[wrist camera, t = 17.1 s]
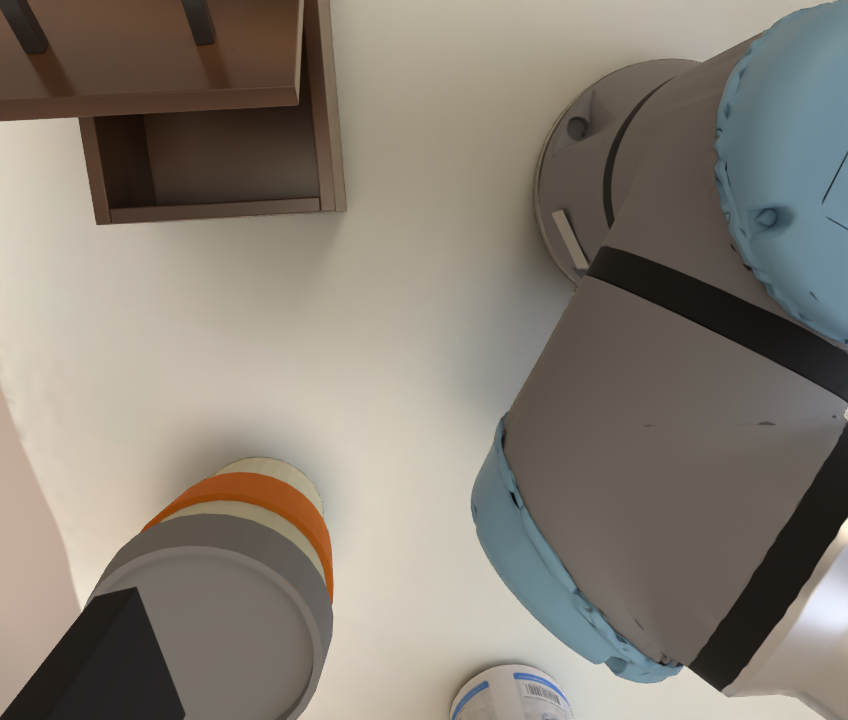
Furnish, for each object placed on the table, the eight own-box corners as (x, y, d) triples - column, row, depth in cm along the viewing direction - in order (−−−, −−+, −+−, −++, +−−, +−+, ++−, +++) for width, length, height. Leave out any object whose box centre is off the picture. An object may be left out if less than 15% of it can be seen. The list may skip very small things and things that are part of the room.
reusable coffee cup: (162, 436, 44) (49, 546, 30) (344, 429, 45) (320, 534, 30) (182, 596, 47) (87, 769, 33) (353, 589, 48) (335, 755, 33)
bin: (346, 211, 42) (336, 210, 34) (150, 222, 41) (95, 225, 34) (326, -39, 38) (309, -102, 31) (112, -29, 38) (42, -90, 30)
